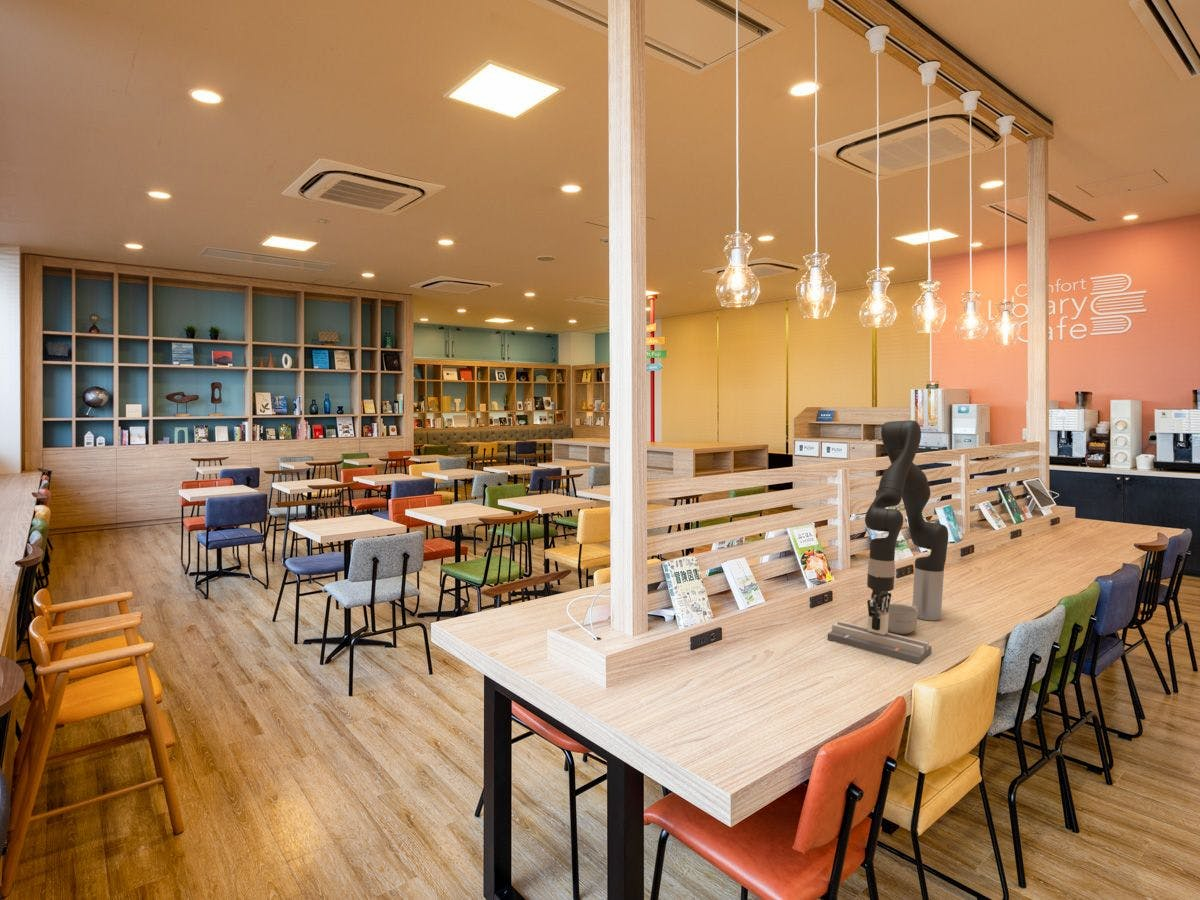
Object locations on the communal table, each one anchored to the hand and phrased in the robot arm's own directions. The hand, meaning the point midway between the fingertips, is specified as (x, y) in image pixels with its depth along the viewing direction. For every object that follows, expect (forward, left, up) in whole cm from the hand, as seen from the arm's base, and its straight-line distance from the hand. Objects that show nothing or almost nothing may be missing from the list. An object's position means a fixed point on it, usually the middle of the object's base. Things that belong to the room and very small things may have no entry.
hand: (877, 627), depth 207 cm
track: (0, 0, -6) cm, 6 cm away
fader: (0, 0, -3) cm, 3 cm away
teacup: (-20, +1, -6) cm, 21 cm away
